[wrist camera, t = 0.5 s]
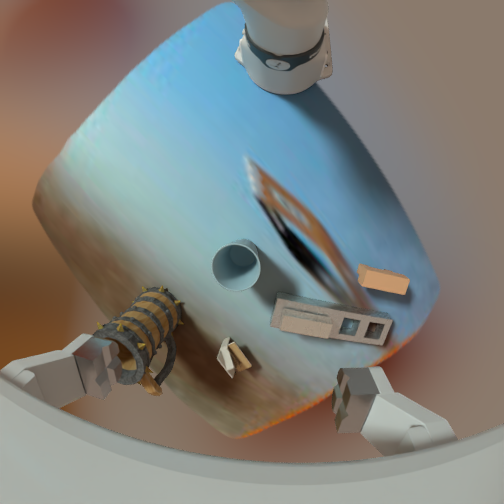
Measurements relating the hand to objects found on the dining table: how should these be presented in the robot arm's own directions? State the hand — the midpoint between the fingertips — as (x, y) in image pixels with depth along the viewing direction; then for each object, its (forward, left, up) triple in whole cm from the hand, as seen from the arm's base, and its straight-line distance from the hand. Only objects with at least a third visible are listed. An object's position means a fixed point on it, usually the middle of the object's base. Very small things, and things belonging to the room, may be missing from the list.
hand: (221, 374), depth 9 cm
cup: (+7, -3, -44) cm, 45 cm away
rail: (+16, +17, -44) cm, 50 cm away
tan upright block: (+5, +23, -44) cm, 50 cm away
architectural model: (+28, -1, -45) cm, 53 cm away
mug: (+25, -17, -44) cm, 54 cm away
